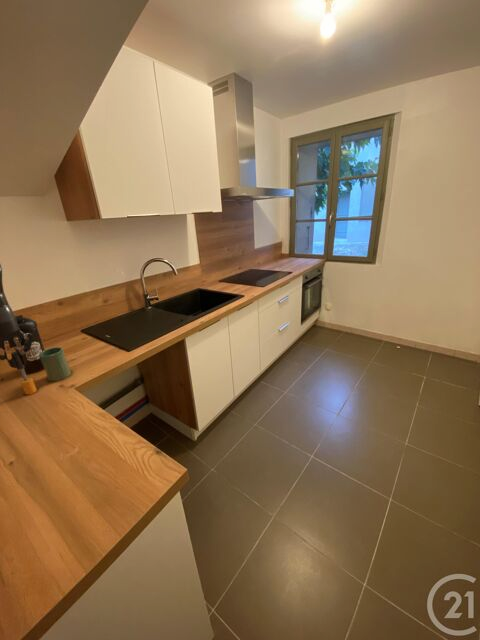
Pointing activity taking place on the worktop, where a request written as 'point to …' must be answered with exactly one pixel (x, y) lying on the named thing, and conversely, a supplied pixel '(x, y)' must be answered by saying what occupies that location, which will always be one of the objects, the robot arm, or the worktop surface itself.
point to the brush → (24, 375)
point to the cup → (55, 363)
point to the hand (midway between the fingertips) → (19, 365)
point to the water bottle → (36, 346)
